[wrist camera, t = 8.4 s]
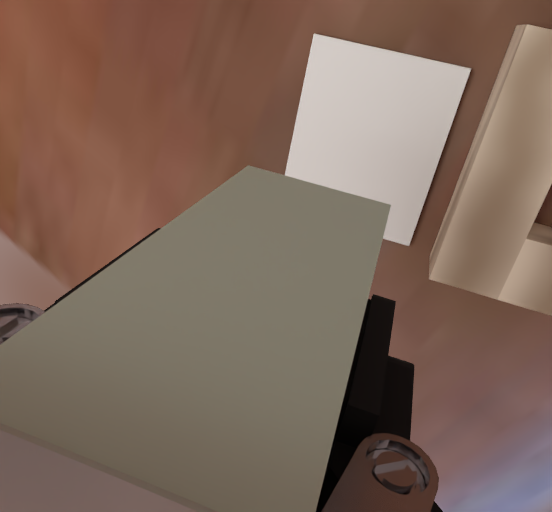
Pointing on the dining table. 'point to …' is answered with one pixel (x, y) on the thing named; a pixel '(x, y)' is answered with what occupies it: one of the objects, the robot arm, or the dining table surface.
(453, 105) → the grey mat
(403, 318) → the dining table surface
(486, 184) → the square hole frame
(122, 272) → the sage block
